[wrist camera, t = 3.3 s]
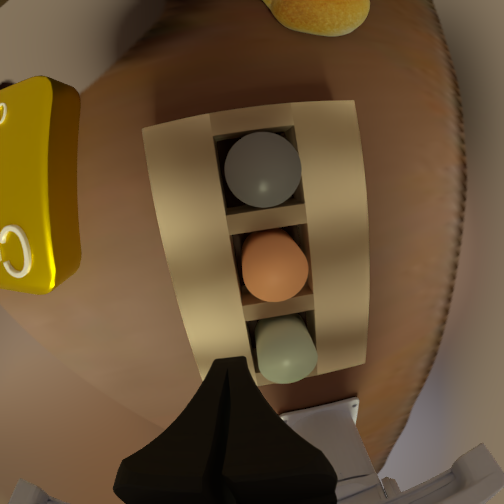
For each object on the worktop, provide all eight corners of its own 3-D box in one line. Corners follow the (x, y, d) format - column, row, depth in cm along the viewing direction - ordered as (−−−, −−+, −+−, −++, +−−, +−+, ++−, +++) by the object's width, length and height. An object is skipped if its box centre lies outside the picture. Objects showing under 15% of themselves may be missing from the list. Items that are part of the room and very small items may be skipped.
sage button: (306, 347, 20) (318, 377, 17) (258, 355, 20) (262, 387, 17) (303, 305, 19) (316, 332, 16) (250, 314, 19) (254, 343, 16)
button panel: (352, 341, 22) (365, 363, 19) (209, 367, 22) (206, 392, 19) (336, 109, 17) (354, 100, 14) (156, 134, 17) (141, 128, 14)
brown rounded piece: (298, 274, 19) (310, 296, 16) (245, 282, 19) (248, 306, 16) (292, 222, 18) (305, 235, 15) (237, 231, 18) (237, 246, 15)
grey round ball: (291, 194, 17) (305, 201, 13) (232, 204, 17) (231, 213, 13) (283, 135, 16) (295, 127, 12) (222, 144, 16) (219, 137, 12)
